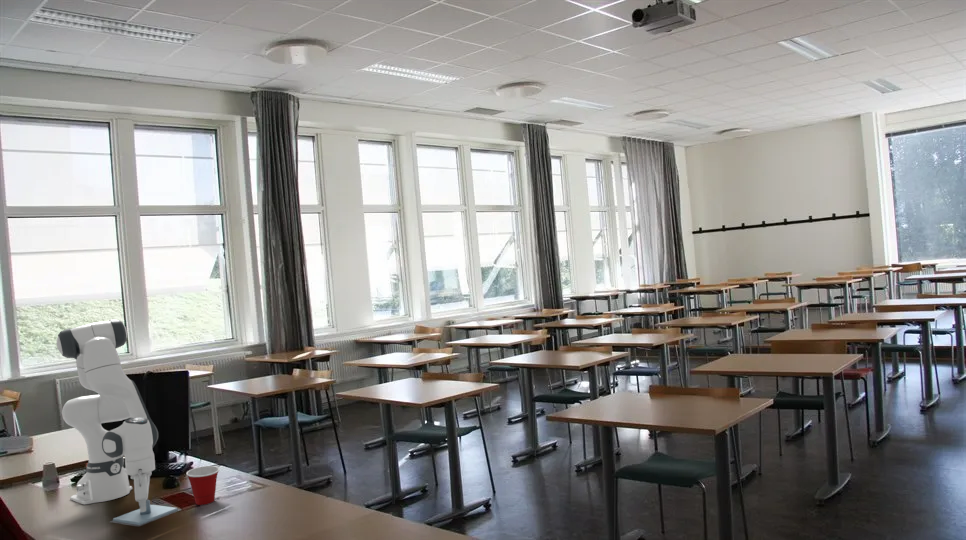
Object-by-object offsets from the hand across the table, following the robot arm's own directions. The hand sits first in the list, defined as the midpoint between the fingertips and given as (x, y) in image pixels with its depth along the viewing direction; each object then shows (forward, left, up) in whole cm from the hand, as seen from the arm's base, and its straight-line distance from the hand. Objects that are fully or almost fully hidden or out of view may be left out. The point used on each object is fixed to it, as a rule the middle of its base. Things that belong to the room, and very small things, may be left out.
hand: (143, 507), depth 230 cm
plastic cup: (+10, +17, -4) cm, 20 cm away
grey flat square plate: (0, +1, -3) cm, 3 cm away
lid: (0, +1, -3) cm, 3 cm away
